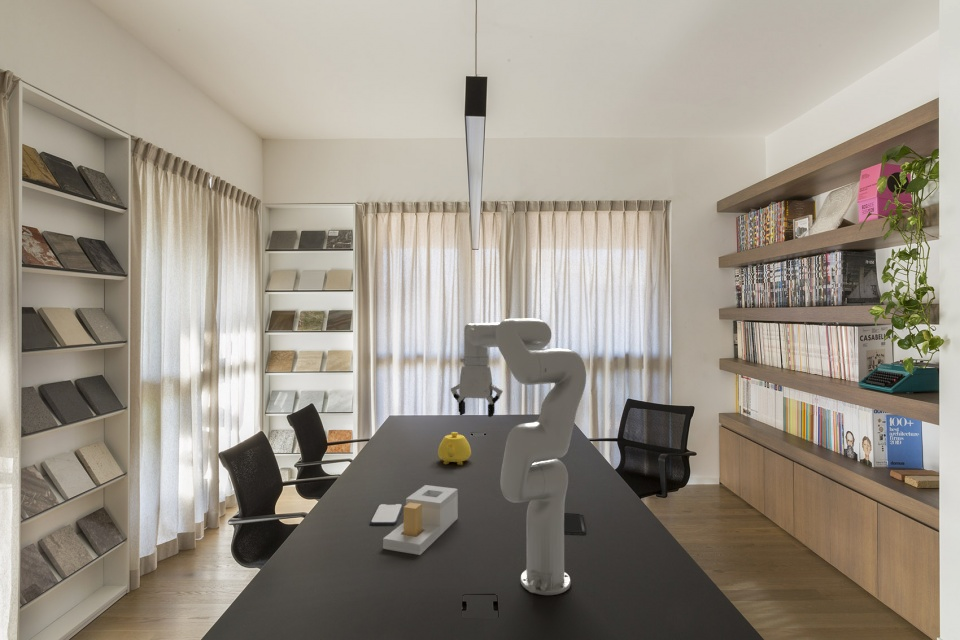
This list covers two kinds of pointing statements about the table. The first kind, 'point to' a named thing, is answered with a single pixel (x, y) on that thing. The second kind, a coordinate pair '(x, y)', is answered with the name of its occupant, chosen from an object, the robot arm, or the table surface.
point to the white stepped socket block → (426, 519)
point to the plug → (413, 519)
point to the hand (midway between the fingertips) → (476, 415)
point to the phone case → (387, 514)
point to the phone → (574, 524)
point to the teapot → (454, 449)
